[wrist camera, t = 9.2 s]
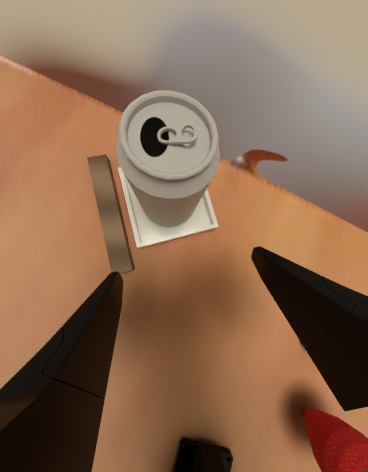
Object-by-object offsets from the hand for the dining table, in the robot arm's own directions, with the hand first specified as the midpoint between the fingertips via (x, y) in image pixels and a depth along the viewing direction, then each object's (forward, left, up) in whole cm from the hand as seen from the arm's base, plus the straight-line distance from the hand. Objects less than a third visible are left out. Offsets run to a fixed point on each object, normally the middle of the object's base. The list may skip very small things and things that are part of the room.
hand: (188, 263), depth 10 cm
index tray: (+7, +4, -11) cm, 14 cm away
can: (+7, +4, -10) cm, 13 cm away
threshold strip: (+3, +10, -11) cm, 15 cm away
